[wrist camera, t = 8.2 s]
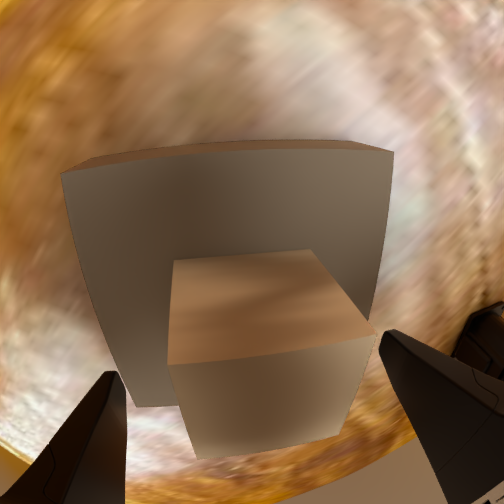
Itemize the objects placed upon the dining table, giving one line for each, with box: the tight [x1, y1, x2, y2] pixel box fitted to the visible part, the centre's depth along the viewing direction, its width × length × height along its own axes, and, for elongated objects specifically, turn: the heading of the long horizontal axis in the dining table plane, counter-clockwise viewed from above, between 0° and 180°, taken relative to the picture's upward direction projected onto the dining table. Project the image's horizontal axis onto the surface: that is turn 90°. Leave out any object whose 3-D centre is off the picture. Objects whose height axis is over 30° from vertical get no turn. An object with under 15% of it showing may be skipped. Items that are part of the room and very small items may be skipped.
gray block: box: [61, 140, 394, 407], centre depth 14 cm, size 12×12×4 cm
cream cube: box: [167, 249, 377, 460], centre depth 10 cm, size 5×5×5 cm
